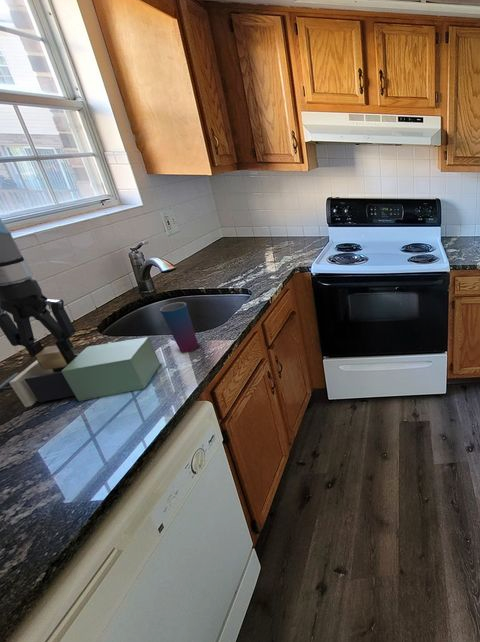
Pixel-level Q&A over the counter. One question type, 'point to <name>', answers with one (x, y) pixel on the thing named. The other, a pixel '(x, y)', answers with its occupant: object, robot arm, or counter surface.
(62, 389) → the black and cream piece
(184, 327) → the cup
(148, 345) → the green box
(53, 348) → the block
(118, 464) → the counter surface
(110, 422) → the counter surface
